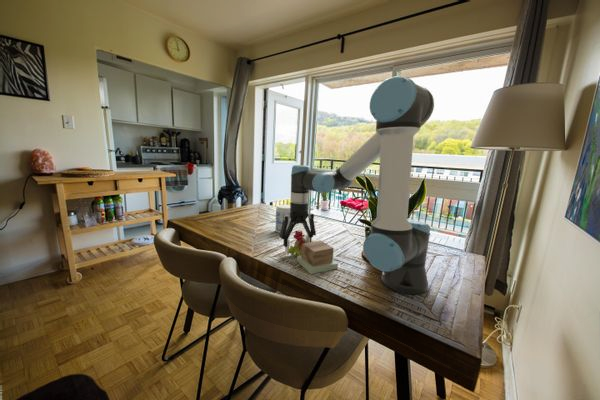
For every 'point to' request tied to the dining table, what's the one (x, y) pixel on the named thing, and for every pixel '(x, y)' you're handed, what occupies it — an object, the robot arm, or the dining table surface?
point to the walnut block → (317, 253)
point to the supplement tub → (281, 216)
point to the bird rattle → (297, 243)
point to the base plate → (316, 268)
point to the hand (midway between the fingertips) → (297, 251)
